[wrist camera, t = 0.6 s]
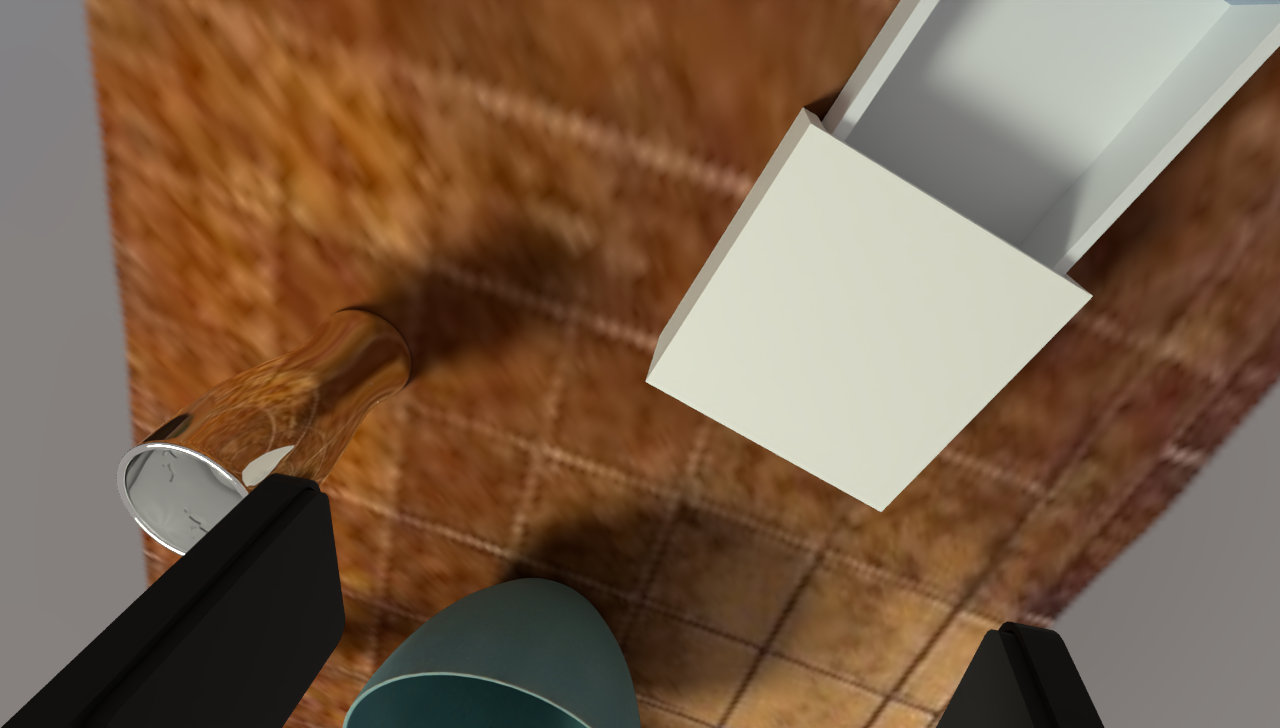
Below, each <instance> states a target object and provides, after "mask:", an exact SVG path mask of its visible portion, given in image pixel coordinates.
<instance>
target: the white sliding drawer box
mask: <svg viewBox="0 0 1280 728" xmlns="http://www.w3.org/2000/svg"><path fill="white" fill-rule="evenodd" d="M1279 46H1280V0H900V2H899V3H898V5H897V6H896V8H895V10H894V11H893V13H892V14H891V16H890V17H889V19H888V20H887V22H886V23H885V25H884V27H883V28H882V30H881V31H880V33H879V34H878V36H877V37H876V39H875V40H874V42H873V43H872V45H871V47H870V48H869V50H868V51H867V53H866V54H865V56H864V57H863V59H862V60H861V62H860V64H859V65H858V67H857V68H856V70H855V71H854V73H853V74H852V76H851V77H850V79H849V81H848V82H847V84H846V85H845V87H844V88H843V90H842V91H841V93H840V94H839V96H838V98H837V99H836V101H835V102H834V104H833V105H832V107H831V108H830V110H829V111H828V113H827V114H826V116H825V118H824V119H823V121H822V122H821V123H822V125H823V127H824V128H825V130H826V131H827V132H829V133H830V134H832V135H834V136H835V137H837V138H838V139H840V140H842V141H843V142H845V143H847V144H848V145H850V146H852V147H853V148H855V149H856V150H858V151H860V152H861V153H863V154H865V155H866V156H868V157H869V158H871V159H873V160H874V161H876V162H878V163H879V164H881V165H883V166H884V167H886V168H887V169H889V170H891V171H892V172H894V173H896V174H897V175H899V176H901V177H902V178H904V179H905V180H907V181H909V182H910V183H912V184H914V185H915V186H917V187H918V188H920V189H922V190H923V191H925V192H927V193H928V194H930V195H932V196H933V197H935V198H936V199H938V200H940V201H941V202H943V203H945V204H946V205H948V206H949V207H951V208H953V209H954V210H956V211H958V212H959V213H961V214H963V215H964V216H966V217H967V218H969V219H971V220H972V221H974V222H976V223H977V224H979V225H981V226H982V227H984V228H985V229H987V230H989V231H990V232H992V233H994V234H995V235H997V236H998V237H1000V238H1002V239H1003V240H1005V241H1007V242H1008V243H1010V244H1012V245H1013V246H1015V247H1016V248H1018V249H1020V250H1021V251H1023V252H1025V253H1026V254H1028V255H1029V256H1031V257H1033V258H1034V259H1036V260H1038V261H1039V262H1041V263H1043V264H1044V265H1046V266H1047V267H1049V268H1051V269H1052V270H1054V271H1056V272H1057V273H1059V274H1060V275H1062V276H1064V275H1065V274H1066V273H1067V272H1068V270H1069V269H1070V268H1071V267H1072V266H1073V265H1074V264H1075V263H1076V262H1077V261H1078V260H1079V259H1080V258H1081V257H1082V256H1083V255H1084V253H1085V252H1086V251H1087V250H1088V249H1089V248H1090V247H1091V246H1092V245H1093V244H1094V243H1095V242H1096V241H1097V240H1098V239H1099V237H1100V236H1101V235H1102V234H1103V233H1104V232H1105V231H1106V230H1107V229H1108V228H1109V227H1110V226H1111V225H1112V224H1113V223H1114V222H1115V220H1116V219H1117V218H1118V217H1119V216H1120V215H1121V214H1122V213H1123V212H1124V211H1125V210H1126V209H1127V208H1128V207H1129V206H1130V204H1131V203H1132V202H1133V201H1134V200H1135V199H1136V198H1137V197H1138V196H1139V195H1140V194H1141V193H1142V192H1143V191H1144V190H1145V189H1146V187H1147V186H1148V185H1149V184H1150V183H1151V182H1152V181H1153V180H1154V179H1155V178H1156V177H1157V176H1158V175H1159V174H1160V173H1161V171H1162V170H1163V169H1164V168H1165V167H1166V166H1167V165H1168V164H1169V163H1170V162H1171V161H1172V160H1173V159H1174V158H1175V157H1176V156H1177V154H1178V153H1179V152H1180V151H1181V150H1182V149H1183V148H1184V147H1185V146H1186V145H1187V144H1188V143H1189V142H1190V141H1191V140H1192V138H1193V137H1194V136H1195V135H1196V134H1197V133H1198V132H1199V131H1200V130H1201V129H1202V128H1203V127H1204V126H1205V125H1206V124H1207V123H1208V121H1209V120H1210V119H1211V118H1212V117H1213V116H1214V115H1215V114H1216V113H1217V112H1218V111H1219V110H1220V109H1221V108H1222V107H1223V105H1224V104H1225V103H1226V102H1227V101H1228V100H1229V99H1230V98H1231V97H1232V96H1233V95H1234V94H1235V93H1236V92H1237V91H1238V90H1239V88H1240V87H1241V86H1242V85H1243V84H1244V83H1245V82H1246V81H1247V80H1248V79H1249V78H1250V77H1251V76H1252V75H1253V74H1254V72H1255V71H1256V70H1257V69H1258V68H1259V67H1260V66H1261V65H1262V64H1263V63H1264V62H1265V61H1266V60H1267V59H1268V58H1269V57H1270V55H1271V54H1272V53H1273V52H1274V51H1275V50H1276V49H1277V48H1278V47H1279Z"/></svg>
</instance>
